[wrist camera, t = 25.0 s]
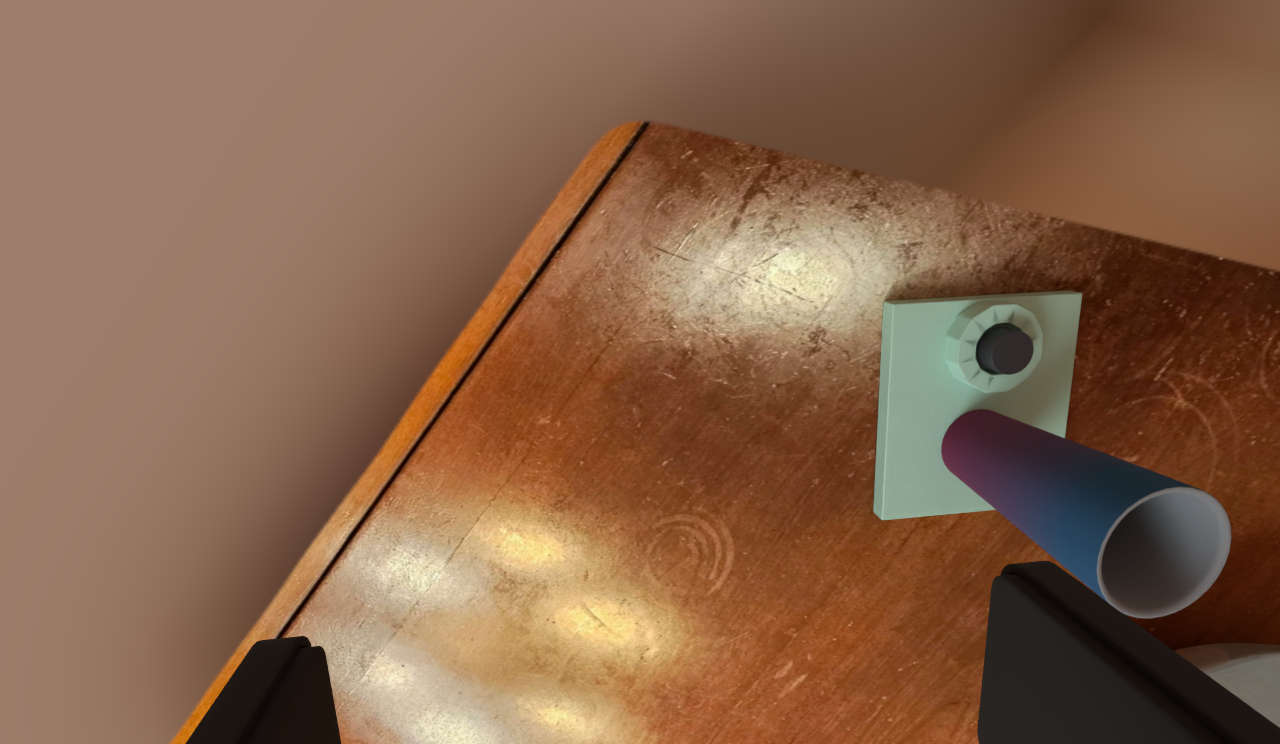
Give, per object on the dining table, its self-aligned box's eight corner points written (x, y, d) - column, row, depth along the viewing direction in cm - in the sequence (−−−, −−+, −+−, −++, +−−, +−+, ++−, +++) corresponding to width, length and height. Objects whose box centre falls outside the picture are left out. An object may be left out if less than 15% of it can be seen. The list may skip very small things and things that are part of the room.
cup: (998, 376, 45) (1204, 458, 31) (1038, 455, 47) (1250, 567, 33) (911, 433, 46) (1075, 540, 31) (954, 509, 47) (1128, 644, 33)
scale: (883, 300, 45) (905, 307, 42) (1067, 290, 46) (1102, 296, 43) (872, 511, 48) (892, 531, 45) (1043, 496, 50) (1074, 514, 47)
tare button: (978, 327, 43) (993, 332, 42) (1020, 324, 43) (1036, 329, 42) (974, 370, 44) (989, 376, 42) (1015, 367, 44) (1031, 373, 43)
